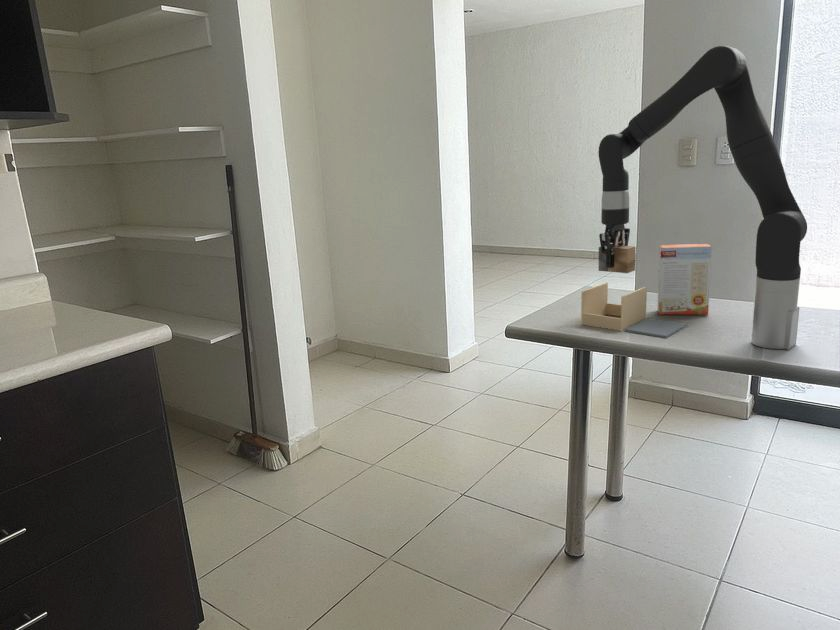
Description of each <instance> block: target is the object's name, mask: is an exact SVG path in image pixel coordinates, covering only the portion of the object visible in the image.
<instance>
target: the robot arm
mask: <svg viewBox="0 0 840 630" xmlns="http://www.w3.org/2000/svg"><path fill="white" fill-rule="evenodd" d="M746 59H747V58H746V57H745V55H744V53H743V52H742V51H741V50H739V49H737V48H735V47H731V46H727V45H718V46H714V47H712V48H710V49H708V50H707V51H706V52H705V53H704V54H703V55H702V56H701V57H700V58H698V60H697V61H696V62H695V63H694V64H693V65H692V66H691V67H690V69H688V70H687V71H686V73H684V75H683V76H682V77H681V78H680V79H679V80H678V81H676V83H674V84H673V85H672V86H671V87H670V88H668V90H666V91H665V92H664V93H662V94H661V95H660V96H659V97H658V98H656V99H655V100H654V101H653V102H651V103H649V105H648V106H646V107H645V108H644V109H642V110H641V111H640V112H639V113H637V114H636V115H635V116H633V117H632V118H631V119H630V121H629V122H628V125H627V127H625V128H624V129H623V130H621V131H620V132H618V133H610V134H607V135H605V136H604V137H603V138H602V139H601V141H600V142H599V146H598V159H599V164H600V165H599V166H600V170H601V171H600V172H601V175H602V194H601V195H602V196H601V215H600V216H601V224H602V225H605V230H604V233H599V235H598V236H599V244H600V247H601V252H602V253H604V254H605V255H606V267H607V268H613V267H614V252H615V248H616V247H617V245H619V246H629V241H630V233H631V230H630V228H627V227H626V226H625V225H627V224H629V223H630V191H629V188H630V187H629V186H630V185H629V183H630V178H629V177H630V176H629V171H628V170H627V169H625V168H624V159H626V158H628V157H630V156H631V155H632V154H633V153H635V152H636V151H637V150H638V149H639V148H640V147H641V146H643V144H644V143H645V142H646V141H647V140H648V139H650V138H651V137H653V136H654V135H657V133H659V131H661V130H662V129H664V128H665V127H666V126H667V125H668V124H670V123H671V122H673V120H674V119H675V118H676V117H677V116H678V115H679V114H680V112H682V110H684V108H685V107H687V106H688V105H689V104H690V103H692V102H693V101H694V100H696V99H697V98H699V97H700V96H702V95H703V94H705V93H707V92H709V91H711V90H713V89H714V90H715V92H716V94H717V96H718V98H719V101H720V103H721V106H722V108H723V111H724V117H725V126H726V127H725V129H726V139H727V143H728V146H729V147H728V148H729V151H730V153H731V155H732V158H733V161H734V164H735V166H736V168H737V170H738V172H739V174H740V176H741V177H742V178H743V180H744V182H745V183H746V184H747V186H748V187H749V188H750V190H751V191H752V192H753V194H754V195H755V198H756V199H757V202H758V206H759V207H760V210H761V215H762V218H763V219H762V220H761V222H760V223H759V225H758V228H757V233H756V242H755V243H756V245H755V260H754V261H755V267H756V280H755V292H754V304H753V315H752V318H753V319H752V328H751V329H752V330H751V344H753V345H754V346H756V347H760V348H764V349H770V350H771V349H772V350H791V349H792V348H793V347H794V346H795V345H796V344H797V339H798V328H799V326H798V325H799V318H800V306H798V303H799V290H800V281H801V272H802V268H801V265H800V252H801V242H802V241H803V240H804V238H805V237H806V235H807V231H808V222H807V220H806V217H805V216H804V214H803V211H802V210H801V208H800V207H799V204H798V203H797V201H796V198H795V197H794V194H793V192H792V190H791V189H790V185H789V184H788V183H789V182H788V179H787V175H786V172H785V170H784V165H783V162H782V159H781V156H780V153H779V150H778V147H777V145H776V142H775V139H774V137H773V134H772V131H771V129H770V127H769V124H768V122H767V120H766V117H765V115H764V112H763V110H762V107H761V106H760V104H759V102H758V100H757V98H756V94H755V91H754V88H753V84H752V79H751V76H750V70H749V68H748V62H747V60H746ZM604 246H605V247H604ZM611 247H612V249H611Z"/></svg>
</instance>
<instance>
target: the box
mask: <svg viewBox="0 0 840 630" xmlns="http://www.w3.org/2000/svg"><path fill="white" fill-rule="evenodd" d="M604 247H605V246H604ZM611 249H612V247H611ZM598 271H599V272H608V273H609V272H610V273H618V274H619V273H621V274H629V273H632V272H634V271H636V245H628V246H619V245H617V247H616V248H615V252H614V267H613V268H607V267H606V255H605V254H604V253H602V252H601V246H598Z"/></svg>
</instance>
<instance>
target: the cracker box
mask: <svg viewBox="0 0 840 630" xmlns="http://www.w3.org/2000/svg"><path fill="white" fill-rule="evenodd" d="M711 259H712V246H711V245H710V244H708V243H689V244H687V243H686V244H685V243H683V244H682V243H680V244H660V245H659V246H658V277H657V278H658V279H657V282H658V283H657V312H658V315H661V316H663V315H665V316H668V315H669V316H670V315H678V316H679V315H681V316H683V315H690V316H691V315H692V316H693V315H694V316H695V315H697V316H700V315H701V316H703V315H704V316H707V315H709V308H710V307H709V306H710V304H709V302H710V286H711V285H710V284H711V283H710V282H711V269H712V268H711V267H712V265H711V264H712V260H711Z"/></svg>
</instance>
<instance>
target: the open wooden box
mask: <svg viewBox="0 0 840 630" xmlns="http://www.w3.org/2000/svg"><path fill="white" fill-rule="evenodd" d="M608 284H609V282H607V281H606V282H604V283H602V284H598V285H595V286H593V287H591V288H588V289H585V290H582V291H581V300H580V301H581V302H580V303H581V307H580V309H581V311H580V312H581V313H580V315H581V317H580V318H581V319H580V320H581V321H580V322H581V323H580V325H583V326H589V327H596V328H600V327H601V329H606V328H608V329H607V330H612V329H613V331H619V332H623V331H624V330H625V329H626V328H628V327H630V326H632V325H634V324H636V323H638V322H640V321H642V320H644V319H646V318H647V295H648V294H647V293H648V287H647V286H643V287H641V288H639V289H636V290H634V291H631V292H628V293H627V294H624V295H621V300H620V301H621V304H620V303H619V304H617V303H611V302H608V300H609V299H608V296H609V295H608V293H609V291H608V290H609V287H608V286H609V285H608ZM607 315H608V316H607ZM613 316H616V317H613ZM624 332H625V331H624Z"/></svg>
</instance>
